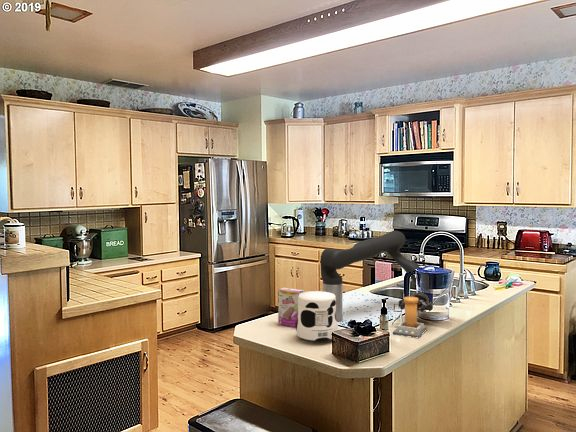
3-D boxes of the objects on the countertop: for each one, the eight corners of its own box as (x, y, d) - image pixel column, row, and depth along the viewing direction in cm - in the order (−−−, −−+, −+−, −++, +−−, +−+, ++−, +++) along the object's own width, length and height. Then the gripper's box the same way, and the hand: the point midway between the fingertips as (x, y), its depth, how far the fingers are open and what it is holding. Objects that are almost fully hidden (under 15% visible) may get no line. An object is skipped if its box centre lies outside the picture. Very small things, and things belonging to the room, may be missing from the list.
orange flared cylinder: (401, 329, 201) (402, 298, 200) (405, 326, 206) (406, 295, 205) (415, 332, 198) (416, 300, 197) (419, 328, 203) (420, 297, 202)
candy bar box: (277, 325, 212) (277, 289, 211) (283, 322, 217) (283, 287, 215) (299, 328, 207) (299, 292, 205) (304, 325, 211) (304, 289, 210)
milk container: (312, 329, 206) (312, 288, 205) (346, 337, 195) (346, 294, 194) (287, 339, 193) (287, 296, 191) (321, 348, 182) (321, 302, 180)
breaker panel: (392, 334, 199) (392, 327, 198) (401, 326, 209) (401, 320, 209) (418, 338, 193) (418, 331, 193) (426, 330, 203) (426, 323, 203)
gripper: (406, 290, 219) (395, 297, 205) (437, 294, 212) (428, 301, 198) (405, 306, 220) (395, 314, 206) (437, 310, 212) (428, 319, 199)
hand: (411, 308), depth 202 cm, fingers open, 8 cm apart
